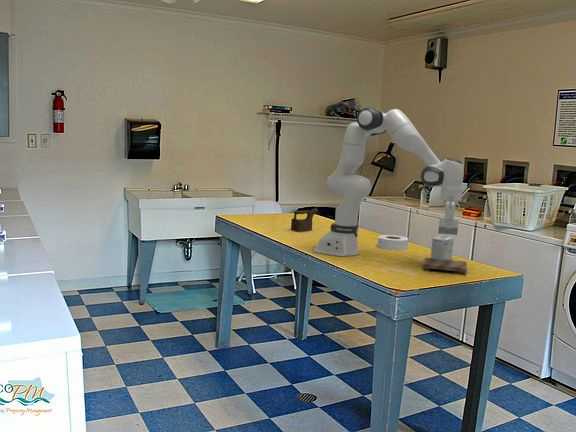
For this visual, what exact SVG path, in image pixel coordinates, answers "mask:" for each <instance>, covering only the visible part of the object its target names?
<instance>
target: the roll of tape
mask: <svg viewBox="0 0 576 432" xmlns="http://www.w3.org/2000/svg"><path fill="white" fill-rule="evenodd" d="M408 247H409V238H408V237H406V236H401V235H396V234H395V235H394V234H393V235H392V234H382V235H378V237H377V248H379V249H382V250H387V251H406V250H408V249H409V248H408Z"/></svg>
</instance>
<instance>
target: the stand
mask: <svg viewBox="0 0 576 432" xmlns="http://www.w3.org/2000/svg"><path fill="white" fill-rule="evenodd" d="M423 269H424V272H429V271H430V270H431V269H432V270H433V269H434V270H443V271H452V272H459V275H462V276H465V275H466V273H467V272H468V271H467V270H468V267H467V261H465V260H464V261H463V260H452V259H450V260H444V259H434V258H431V257H424V261H423Z"/></svg>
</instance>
